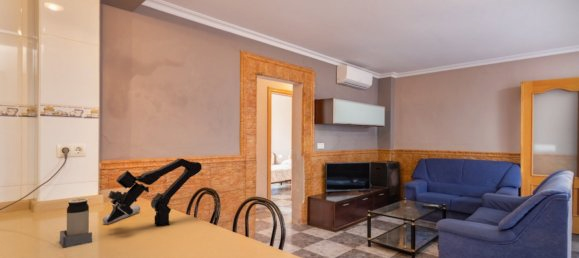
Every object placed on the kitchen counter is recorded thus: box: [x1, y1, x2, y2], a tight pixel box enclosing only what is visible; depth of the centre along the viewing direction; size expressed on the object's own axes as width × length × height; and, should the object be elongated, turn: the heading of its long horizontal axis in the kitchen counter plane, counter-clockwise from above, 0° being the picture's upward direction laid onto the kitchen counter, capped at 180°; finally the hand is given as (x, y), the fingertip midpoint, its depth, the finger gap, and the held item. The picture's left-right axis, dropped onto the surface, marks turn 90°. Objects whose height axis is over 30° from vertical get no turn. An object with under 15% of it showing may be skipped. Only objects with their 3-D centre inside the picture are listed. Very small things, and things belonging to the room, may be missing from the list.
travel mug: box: [66, 197, 90, 237], centre depth 134 cm, size 8×8×18 cm
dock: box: [59, 229, 93, 249], centre depth 134 cm, size 10×12×4 cm
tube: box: [102, 204, 141, 225], centre depth 170 cm, size 5×5×25 cm
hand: (107, 221), depth 142 cm, fingers closed
